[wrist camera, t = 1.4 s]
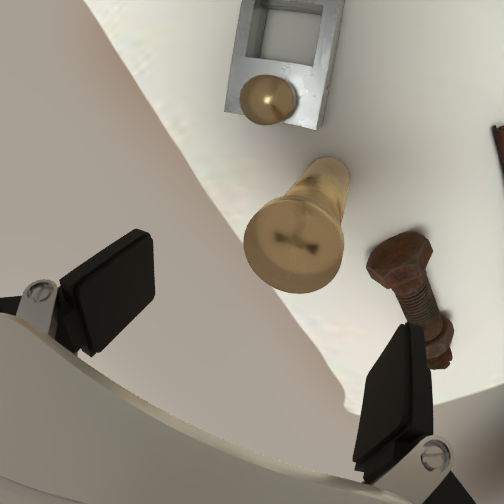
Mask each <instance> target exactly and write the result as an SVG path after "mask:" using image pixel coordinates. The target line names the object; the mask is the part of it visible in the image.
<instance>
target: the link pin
mask: <svg viewBox="0 0 504 504" xmlns="http://www.w3.org/2000/svg"><path fill="white" fill-rule="evenodd" d="M349 185H350V173H349V170H348V168H347V167H346V165H345V164H344V163H343V162H341V161H340V160H338V159H336V158H333V157H322V158H319V159H317V160H315V161H314V162H313V163H312V164H311V165H310V167H309V168H308V169H307V170H306V171H305V172H304V173H303V174H302V176H301V177H300V178H299V179H298V180H297V181H296V182H295V184H294V185H293V186H292V187H291V188H290V189H289V191H288V192H287V193H286V194H285V195H284V196H282V197H279V198H276V199H274V200H272V201H270V202H268V203H267V204H265V205H264V206H263V207H262V208H261V209H260V210H259V211H258V212H257V213H256V214H255V215H254V216H253V218H252V219H251V220H250V222H249V223H248V225H247V228H246V230H245V234H244V251H245V255H246V258H247V260H248V263H249V265H250V266H251V268H252V269H253V271H254V272H255V273H256V274H257V275H258V276H259V277H260V278H261V279H262V280H263V281H264V282H266V283H267V284H269V285H270V286H272V287H274V288H276V289H278V290H281V291H284V292H288V293H296V294H302V293H310V292H313V291H316V290H319V289H321V288H323V287H324V286H326V285H327V284H328V283H329V282H331V281H332V279H333V278H334V277H335V276H336V274H337V272H338V270H339V268H340V265H341V261H342V256H343V251H344V236H343V232H342V229H341V222H342V217H343V213H344V209H345V204H346V199H347V195H348V190H349Z"/></svg>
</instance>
